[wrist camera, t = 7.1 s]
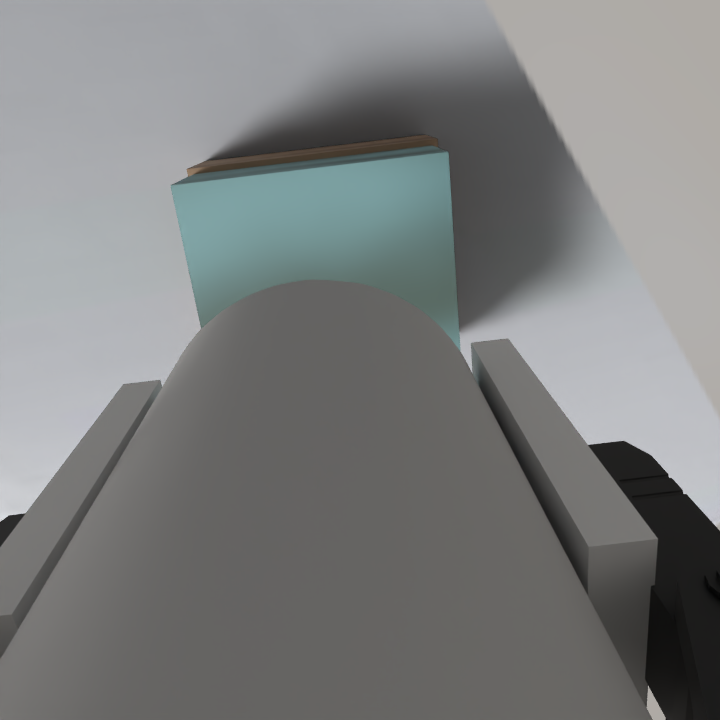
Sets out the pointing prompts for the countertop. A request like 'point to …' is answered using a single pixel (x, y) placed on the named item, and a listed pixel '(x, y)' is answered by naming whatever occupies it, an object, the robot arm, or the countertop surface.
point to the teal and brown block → (323, 224)
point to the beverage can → (316, 543)
